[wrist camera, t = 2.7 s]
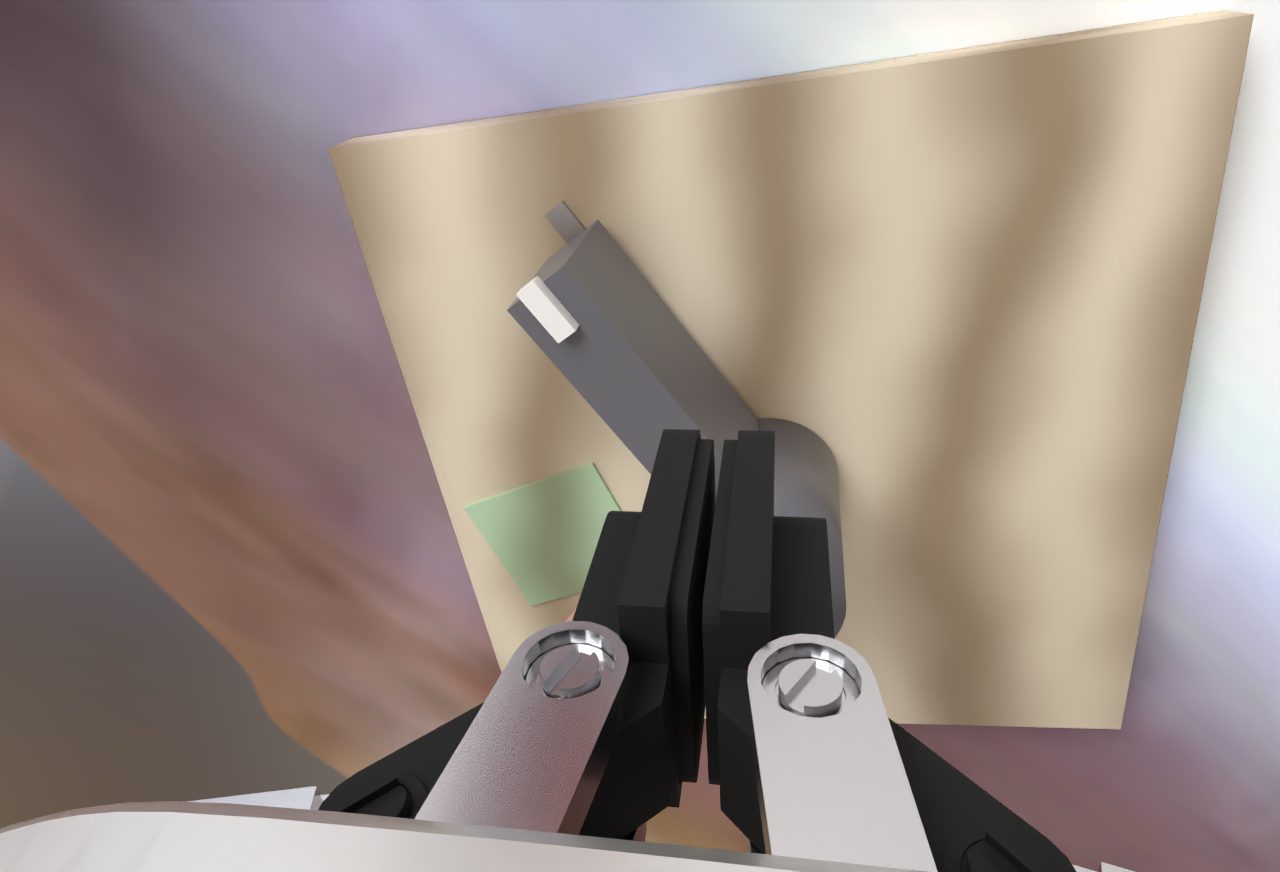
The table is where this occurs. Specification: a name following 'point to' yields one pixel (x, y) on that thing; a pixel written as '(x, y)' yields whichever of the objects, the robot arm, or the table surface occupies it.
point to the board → (849, 332)
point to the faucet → (663, 378)
